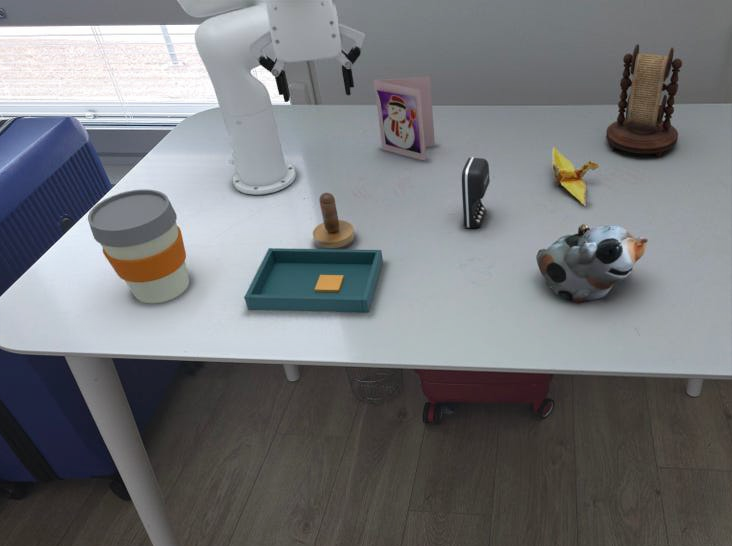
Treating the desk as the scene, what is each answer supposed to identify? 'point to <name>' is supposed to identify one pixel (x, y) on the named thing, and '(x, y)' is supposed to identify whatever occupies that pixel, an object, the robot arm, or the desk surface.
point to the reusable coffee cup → (142, 243)
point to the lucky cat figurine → (590, 261)
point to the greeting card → (405, 115)
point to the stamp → (332, 227)
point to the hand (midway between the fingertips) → (317, 95)
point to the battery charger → (474, 191)
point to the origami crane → (571, 175)
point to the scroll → (646, 105)
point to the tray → (314, 280)
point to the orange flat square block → (329, 283)
